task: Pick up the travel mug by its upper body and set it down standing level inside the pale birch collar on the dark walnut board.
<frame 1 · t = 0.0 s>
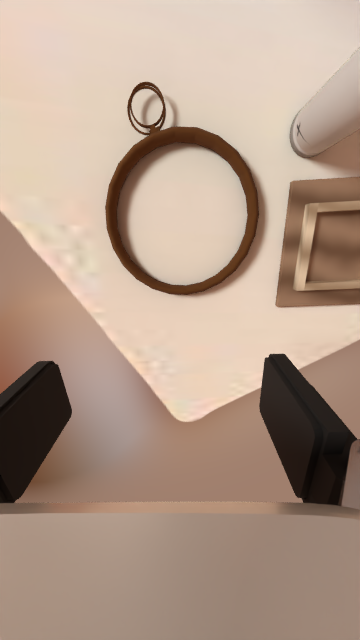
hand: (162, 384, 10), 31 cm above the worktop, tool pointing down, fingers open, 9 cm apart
walnut coaster board: (335, 247, 37), on the worktop
decorative ring: (175, 204, 35), on the worktop
travel mug: (309, 133, 31), on the worktop
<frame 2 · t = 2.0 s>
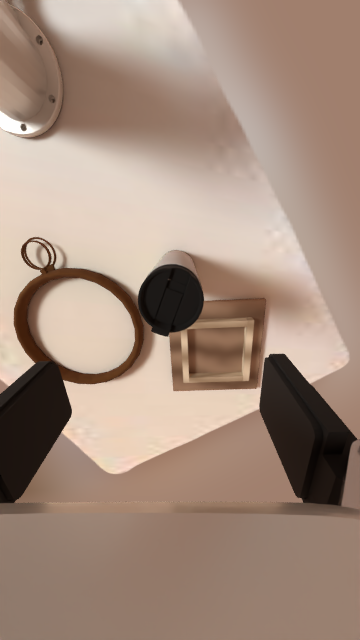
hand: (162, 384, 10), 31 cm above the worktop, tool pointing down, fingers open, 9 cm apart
walnut coaster board: (214, 347, 44), on the worktop
decorative ring: (77, 315, 42), on the worktop
travel mug: (176, 269, 38), on the worktop
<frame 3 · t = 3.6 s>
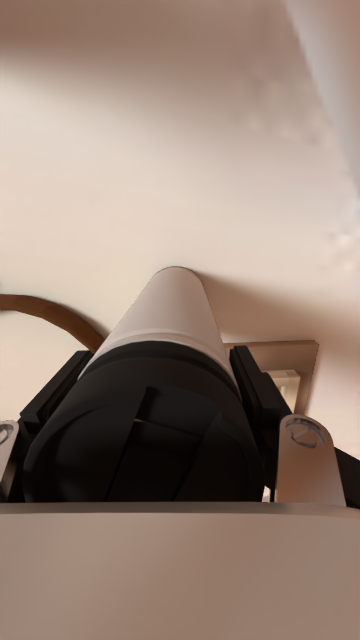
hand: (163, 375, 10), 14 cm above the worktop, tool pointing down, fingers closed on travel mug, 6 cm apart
walnut coaster board: (233, 408, 29), on the worktop
decorative ring: (25, 361, 28), on the worktop
travel mug: (175, 296, 24), on the worktop, touching gripper
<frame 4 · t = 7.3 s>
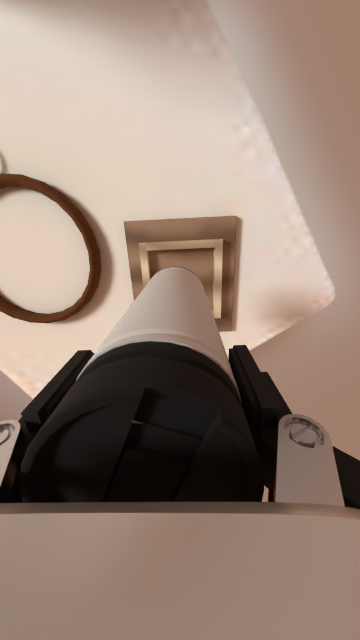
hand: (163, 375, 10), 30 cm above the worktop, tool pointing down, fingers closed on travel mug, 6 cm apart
walnut coaster board: (182, 279, 39), on the worktop
decorative ring: (25, 239, 37), on the worktop
travel mug: (175, 295, 24), point 16 cm above the worktop, touching gripper
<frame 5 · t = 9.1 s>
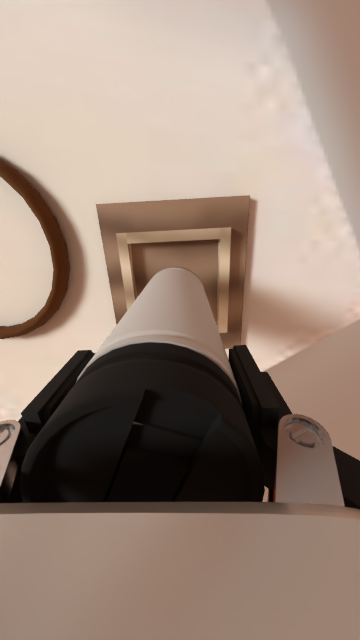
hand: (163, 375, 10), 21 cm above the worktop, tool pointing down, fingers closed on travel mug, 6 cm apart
walnut coaster board: (176, 282, 30), on the worktop
travel mug: (175, 296, 24), point 7 cm above the worktop, touching gripper
when the fingers open (16 cm above the worktop, at t = 10.5 s): travel mug stays where it is, resting on walnut coaster board.
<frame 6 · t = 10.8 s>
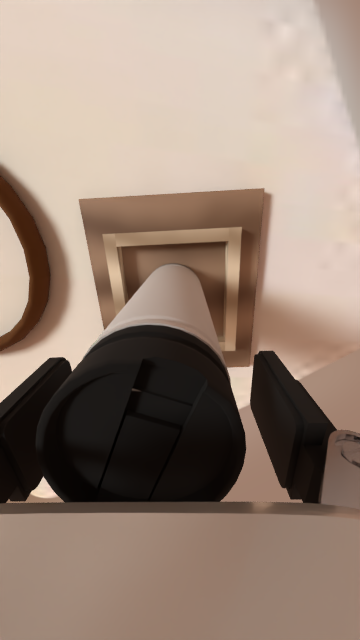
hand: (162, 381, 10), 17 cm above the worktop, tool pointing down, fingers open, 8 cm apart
walnut coaster board: (176, 292, 25), on the worktop
travel mug: (173, 292, 25), point 1 cm above the worktop, touching walnut coaster board
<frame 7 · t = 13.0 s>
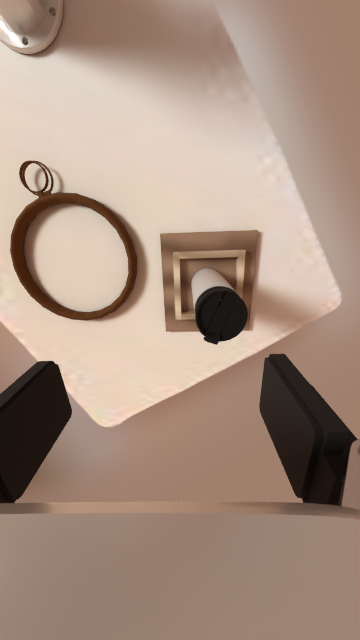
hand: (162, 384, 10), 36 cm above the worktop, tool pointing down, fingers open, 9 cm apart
walnut coaster board: (207, 284, 44), on the worktop
decorative ring: (72, 247, 43), on the worktop
travel mug: (206, 284, 43), point 1 cm above the worktop, touching walnut coaster board
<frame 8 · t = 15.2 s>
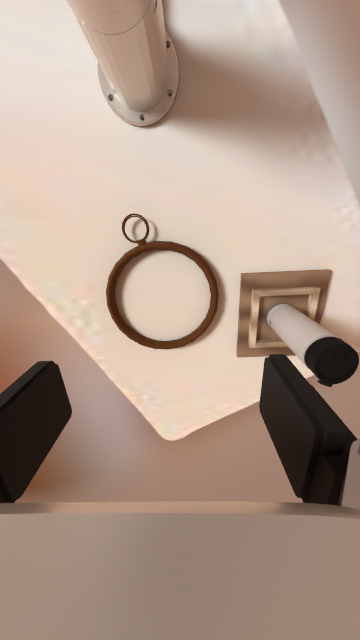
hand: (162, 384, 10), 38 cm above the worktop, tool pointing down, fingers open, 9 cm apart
walnut coaster board: (278, 315, 49), on the worktop
decorative ring: (158, 285, 48), on the worktop
travel mug: (278, 316, 48), point 1 cm above the worktop, touching walnut coaster board
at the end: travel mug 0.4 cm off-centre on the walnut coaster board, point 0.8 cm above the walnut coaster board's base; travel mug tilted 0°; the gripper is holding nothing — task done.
